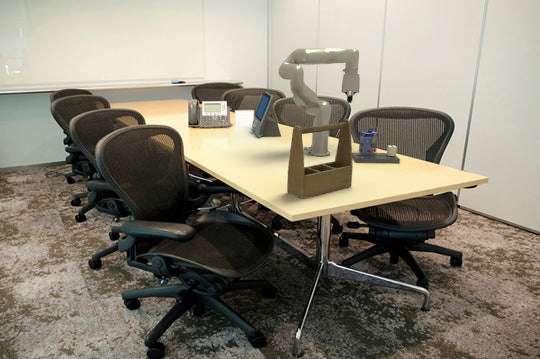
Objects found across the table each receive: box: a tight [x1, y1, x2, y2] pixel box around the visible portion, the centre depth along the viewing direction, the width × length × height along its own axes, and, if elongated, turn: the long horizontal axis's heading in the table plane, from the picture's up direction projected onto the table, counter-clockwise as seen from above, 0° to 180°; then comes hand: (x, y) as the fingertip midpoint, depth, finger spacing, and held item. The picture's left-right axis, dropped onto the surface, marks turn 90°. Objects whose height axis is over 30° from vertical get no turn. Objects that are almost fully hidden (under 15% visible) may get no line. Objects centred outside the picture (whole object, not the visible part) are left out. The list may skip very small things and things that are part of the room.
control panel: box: [352, 152, 401, 164], centre depth 233 cm, size 24×14×3 cm, turn 89°
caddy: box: [286, 118, 354, 200], centre depth 178 cm, size 29×11×30 cm, turn 126°
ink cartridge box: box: [358, 128, 379, 153], centre depth 251 cm, size 10×6×14 cm, turn 117°
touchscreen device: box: [251, 91, 282, 139], centre depth 304 cm, size 35×20×30 cm, turn 9°
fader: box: [386, 144, 398, 156], centre depth 232 cm, size 4×4×5 cm
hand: (349, 102), depth 249 cm, fingers closed
